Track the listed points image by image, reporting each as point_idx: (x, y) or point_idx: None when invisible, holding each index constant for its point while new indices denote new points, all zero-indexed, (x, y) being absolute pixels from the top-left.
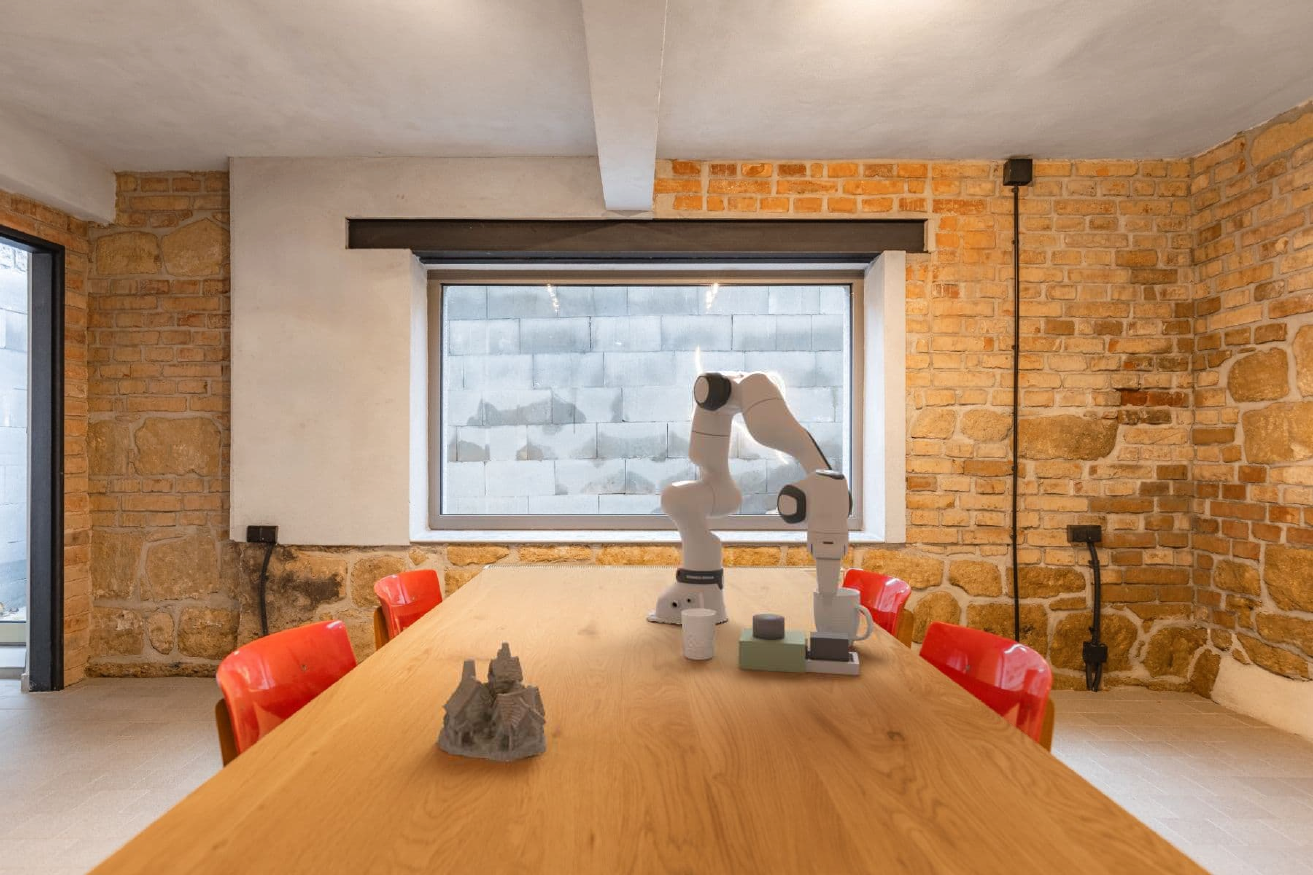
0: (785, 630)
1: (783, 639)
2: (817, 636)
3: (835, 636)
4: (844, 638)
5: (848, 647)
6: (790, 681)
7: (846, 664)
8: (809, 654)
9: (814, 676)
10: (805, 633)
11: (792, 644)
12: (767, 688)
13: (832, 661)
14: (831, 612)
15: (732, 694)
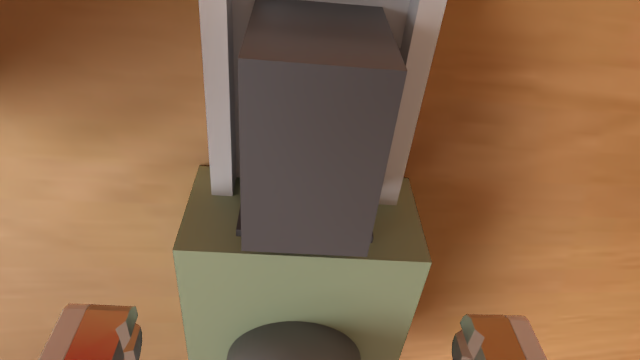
0: (182, 317)
1: (349, 324)
2: (348, 227)
3: (336, 142)
4: (385, 95)
5: (397, 49)
6: (502, 223)
7: (436, 36)
8: (234, 172)
9: (450, 150)
10: (214, 253)
11: (418, 297)
12: (561, 276)
13: (403, 102)
14: (526, 319)
15: (592, 336)
